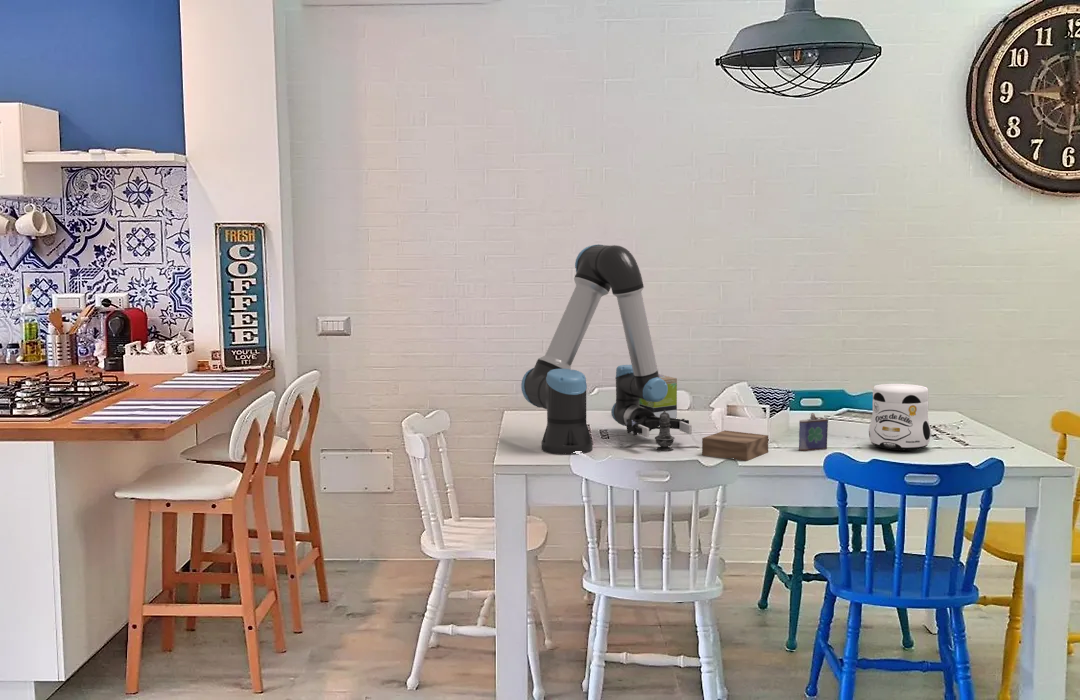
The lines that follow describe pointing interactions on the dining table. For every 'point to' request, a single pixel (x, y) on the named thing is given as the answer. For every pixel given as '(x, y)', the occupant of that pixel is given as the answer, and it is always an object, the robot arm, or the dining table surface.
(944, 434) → the dining table surface
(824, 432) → the flask
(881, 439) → the milk container
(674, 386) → the tea box
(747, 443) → the base block
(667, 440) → the salt shaker
